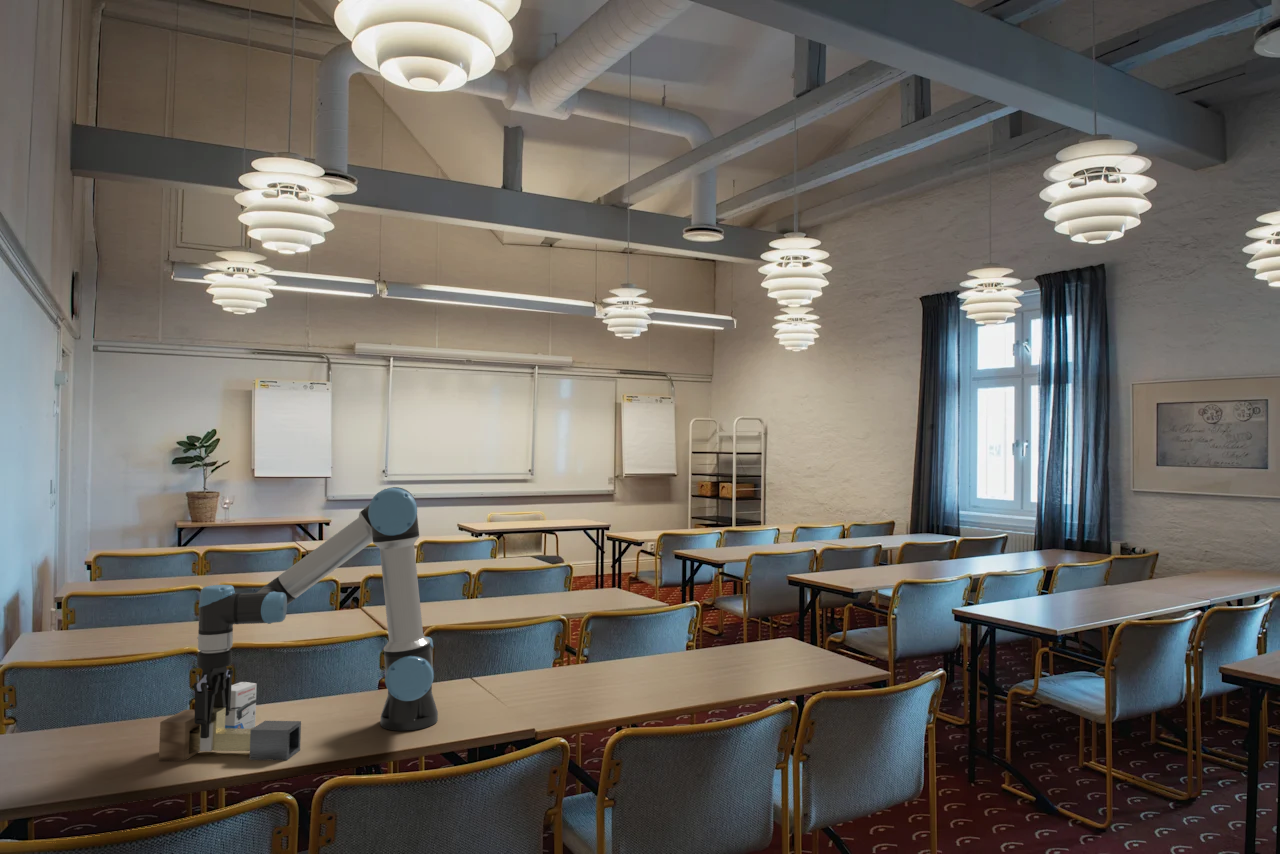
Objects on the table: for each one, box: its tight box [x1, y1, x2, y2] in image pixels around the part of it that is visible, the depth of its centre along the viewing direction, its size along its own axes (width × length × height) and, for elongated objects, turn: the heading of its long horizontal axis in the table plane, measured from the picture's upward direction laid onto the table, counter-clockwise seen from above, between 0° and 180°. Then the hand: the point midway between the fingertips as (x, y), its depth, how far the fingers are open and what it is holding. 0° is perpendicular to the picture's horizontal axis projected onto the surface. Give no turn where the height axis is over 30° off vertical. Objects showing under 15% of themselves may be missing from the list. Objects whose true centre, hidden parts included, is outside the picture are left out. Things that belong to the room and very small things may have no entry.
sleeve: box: [249, 720, 302, 761], centre depth 193 cm, size 9×7×7 cm
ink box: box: [225, 681, 257, 729], centre depth 210 cm, size 8×5×12 cm, turn 168°
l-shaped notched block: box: [189, 707, 252, 752], centre depth 193 cm, size 17×4×9 cm, turn 89°
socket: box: [158, 709, 201, 762], centre depth 194 cm, size 6×10×9 cm, turn 179°
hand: (211, 747), depth 193 cm, fingers closed on l-shaped notched block, 4 cm apart
